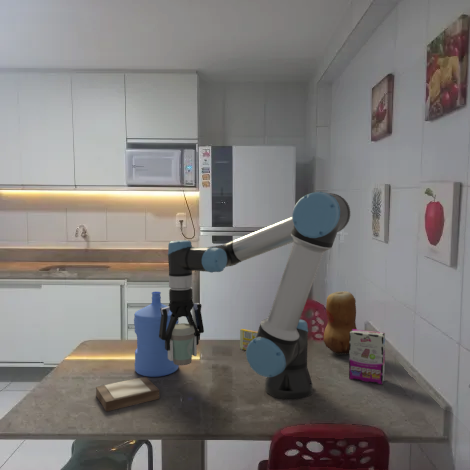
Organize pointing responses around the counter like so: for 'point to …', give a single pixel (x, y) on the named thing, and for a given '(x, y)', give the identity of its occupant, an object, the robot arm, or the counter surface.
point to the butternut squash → (339, 321)
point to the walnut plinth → (126, 393)
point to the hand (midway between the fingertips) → (182, 357)
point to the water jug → (151, 341)
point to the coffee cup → (182, 343)
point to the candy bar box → (367, 356)
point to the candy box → (246, 337)
